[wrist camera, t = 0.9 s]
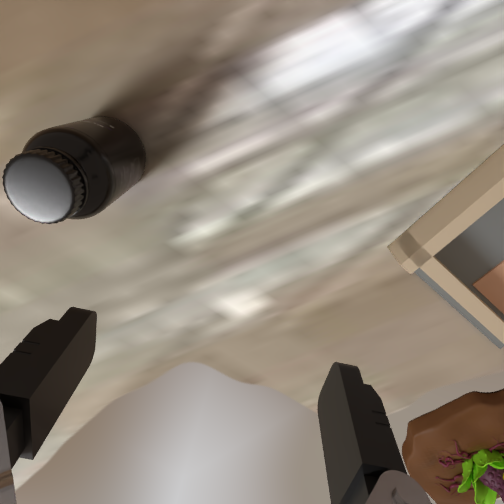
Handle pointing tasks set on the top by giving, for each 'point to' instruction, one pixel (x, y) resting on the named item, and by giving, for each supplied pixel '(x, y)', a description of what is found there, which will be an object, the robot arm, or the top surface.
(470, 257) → the tray
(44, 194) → the supplement bottle
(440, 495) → the brown rough-edged lump
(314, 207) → the top surface
